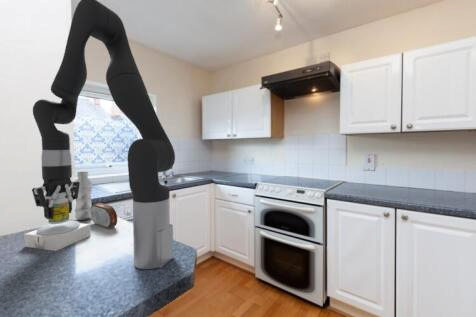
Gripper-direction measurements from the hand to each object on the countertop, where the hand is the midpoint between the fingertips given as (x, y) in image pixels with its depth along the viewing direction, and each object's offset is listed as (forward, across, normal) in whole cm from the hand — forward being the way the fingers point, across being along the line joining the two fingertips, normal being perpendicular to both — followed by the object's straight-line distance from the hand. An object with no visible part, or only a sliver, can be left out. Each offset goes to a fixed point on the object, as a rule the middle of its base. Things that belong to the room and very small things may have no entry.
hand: (59, 215), depth 75 cm
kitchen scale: (+8, 0, 0) cm, 8 cm away
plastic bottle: (+9, +20, +11) cm, 24 cm away
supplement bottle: (+2, 0, 0) cm, 2 cm away
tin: (+9, +15, -3) cm, 18 cm away
